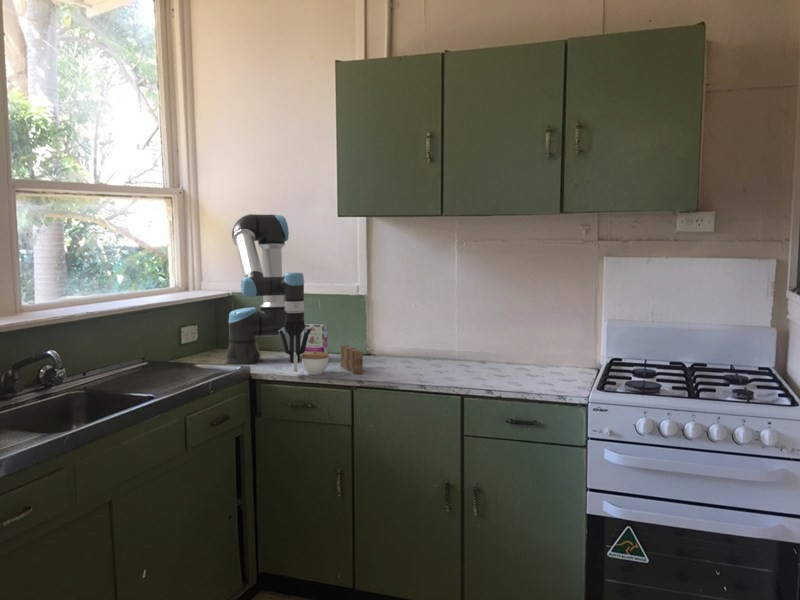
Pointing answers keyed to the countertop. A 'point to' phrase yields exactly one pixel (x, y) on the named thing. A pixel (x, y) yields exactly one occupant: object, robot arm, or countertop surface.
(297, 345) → the robot arm
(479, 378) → the countertop surface
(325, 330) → the candy bar box
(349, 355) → the board
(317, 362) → the lidded jar
